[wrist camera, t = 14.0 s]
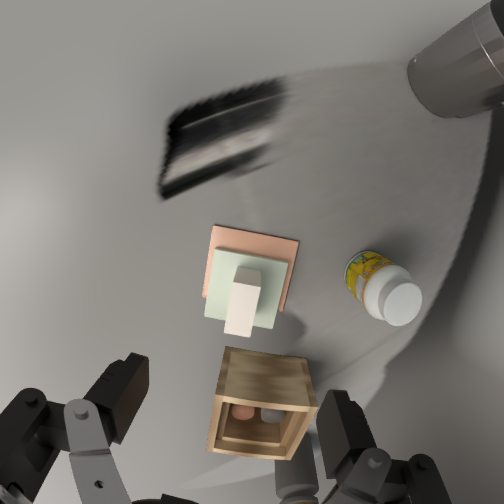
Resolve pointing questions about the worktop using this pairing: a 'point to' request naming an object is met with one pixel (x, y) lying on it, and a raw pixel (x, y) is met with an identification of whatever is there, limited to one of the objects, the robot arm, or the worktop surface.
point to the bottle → (297, 476)
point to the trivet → (252, 251)
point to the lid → (244, 290)
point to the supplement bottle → (383, 288)
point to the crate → (261, 405)
